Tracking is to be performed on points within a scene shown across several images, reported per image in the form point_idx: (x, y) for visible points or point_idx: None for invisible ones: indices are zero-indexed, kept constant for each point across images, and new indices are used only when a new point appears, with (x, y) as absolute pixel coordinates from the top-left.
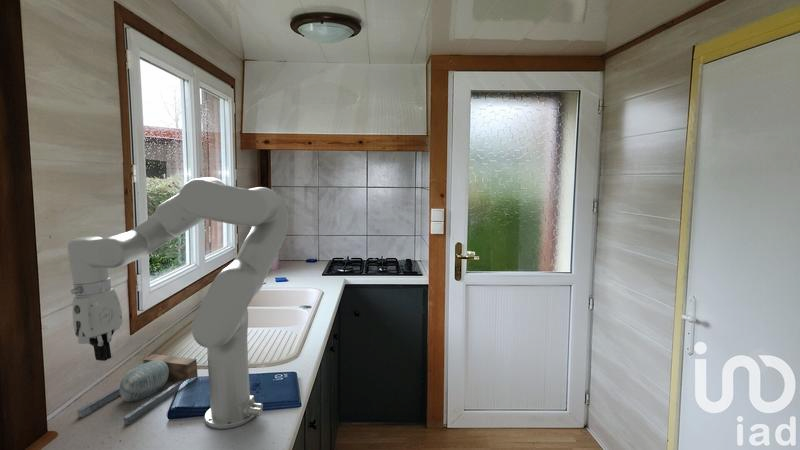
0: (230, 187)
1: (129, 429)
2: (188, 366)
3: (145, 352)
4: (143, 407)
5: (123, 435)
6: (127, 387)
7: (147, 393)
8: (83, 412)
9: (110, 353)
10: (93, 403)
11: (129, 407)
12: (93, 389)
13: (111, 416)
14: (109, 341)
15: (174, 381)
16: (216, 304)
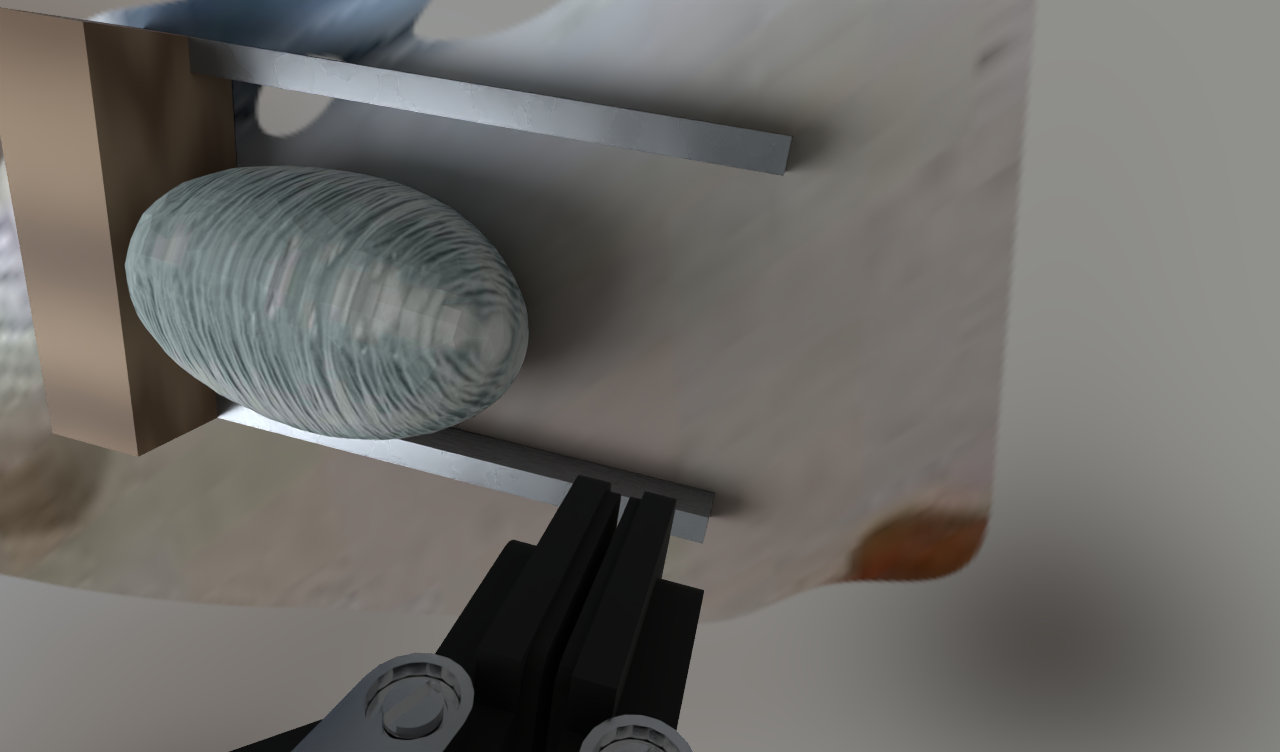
0: None
1: (842, 90)
2: (93, 23)
3: (20, 567)
4: (634, 111)
5: (922, 81)
6: (502, 329)
7: (454, 210)
8: (696, 504)
9: (565, 510)
10: None
11: (571, 280)
12: (421, 608)
13: (684, 329)
14: (426, 675)
15: None
16: None
